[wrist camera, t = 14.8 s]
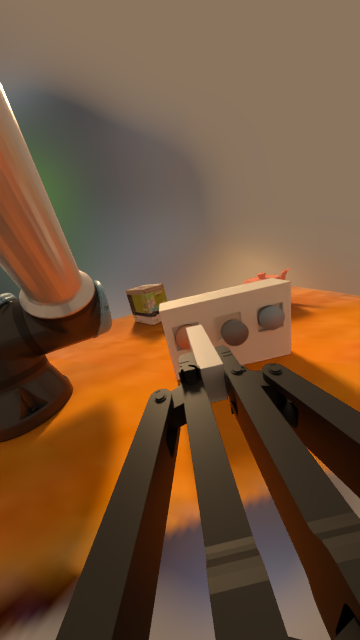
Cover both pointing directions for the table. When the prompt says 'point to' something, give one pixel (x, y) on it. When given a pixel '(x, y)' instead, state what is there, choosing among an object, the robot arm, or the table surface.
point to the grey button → (234, 332)
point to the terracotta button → (183, 337)
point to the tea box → (146, 302)
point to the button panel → (232, 305)
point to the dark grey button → (271, 317)
